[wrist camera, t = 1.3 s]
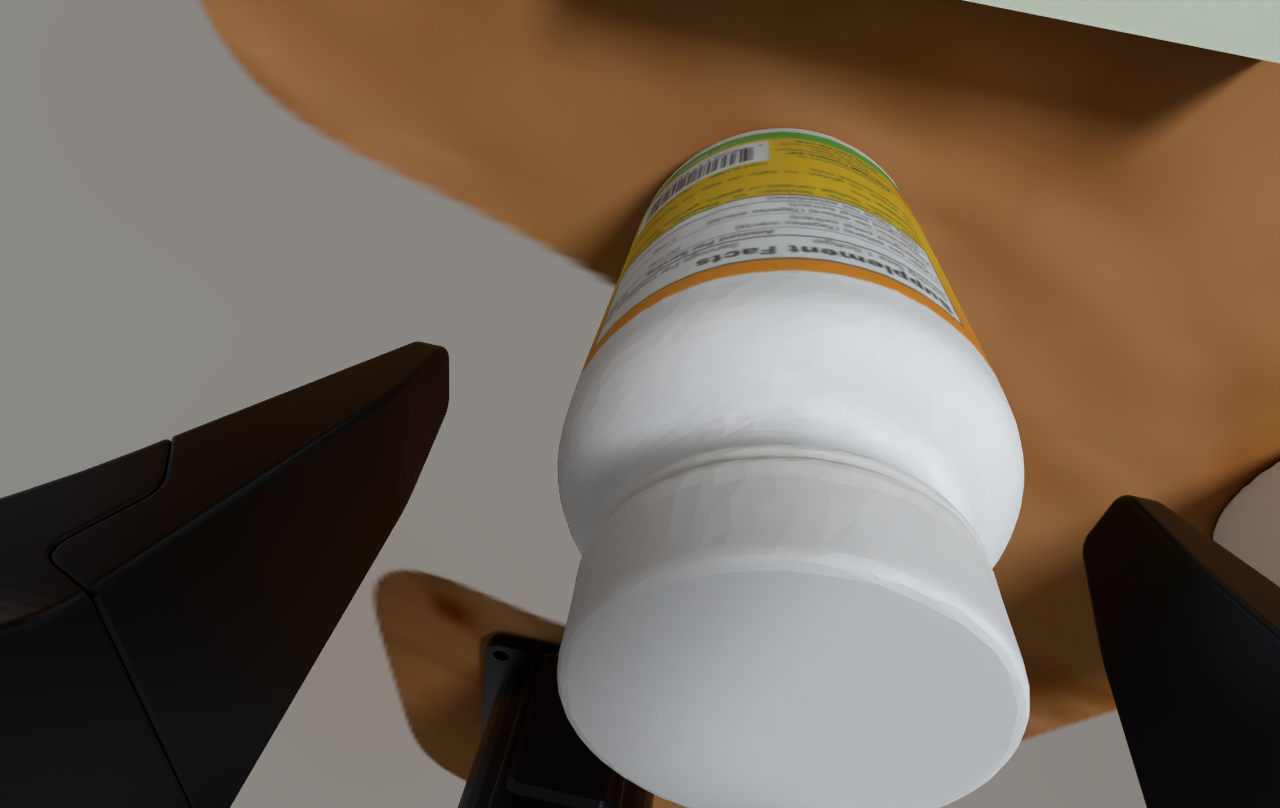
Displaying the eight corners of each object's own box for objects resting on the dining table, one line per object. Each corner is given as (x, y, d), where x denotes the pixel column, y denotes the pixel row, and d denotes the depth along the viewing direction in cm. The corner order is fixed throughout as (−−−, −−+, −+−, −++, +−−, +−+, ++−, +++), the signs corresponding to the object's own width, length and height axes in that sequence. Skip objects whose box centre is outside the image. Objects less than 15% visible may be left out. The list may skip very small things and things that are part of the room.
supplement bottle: (840, 407, 16) (919, 914, 8) (610, 334, 15) (446, 779, 7) (971, 174, 12) (1336, 631, 4) (682, 80, 12) (530, 382, 4)
